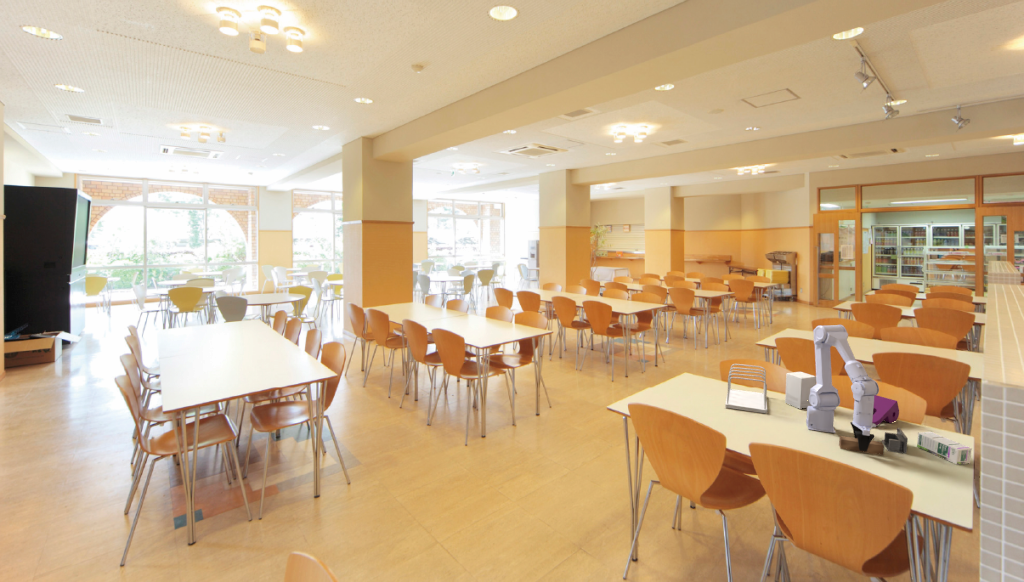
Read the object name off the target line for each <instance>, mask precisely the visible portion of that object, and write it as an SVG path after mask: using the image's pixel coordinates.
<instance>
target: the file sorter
mask: <svg viewBox="0 0 1024 582" xmlns="http://www.w3.org/2000/svg"><path fill="white" fill-rule="evenodd" d="M734 366H742V367H734ZM745 367H746V368H745ZM747 367H751V368H747ZM757 368H761V369H757ZM735 369H737V370H735ZM762 369H763V370H762ZM755 371H756V372H755ZM757 371H758V372H757ZM766 371H767V370H766V368H765V367H763V366H760V365H754V364H753V365H751V364H742V363H741V364H740V363H733V364H732V365H731V366H730V369H729V372H728V377H727V393H726V397H725V398H726V399H725V404H724V405H725V407H724V408H727V409H731V410H732V409H733V410H740V411H747V412H753V413H761V414H766V413H767V414H768V403H767V402H768V401H767V400H768V399H767V393H768V391H767V390H768V384H767V381H766V379H767V377H766V373H767V372H766ZM734 372H735V373H734ZM743 373H748V374H743ZM753 374H754V375H753ZM761 375H762V376H761ZM739 376H741V377H739ZM743 376H744V377H743ZM746 377H754V378H761V379H763V380H761V379H754V378H746ZM732 379H739V380H746V381H753V382H754V381H755V382H761V383H763V392H756V391H750V390H741V389H733V388H731V385H732Z"/></svg>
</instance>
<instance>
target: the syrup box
mask: <svg viewBox="0 0 1024 582" xmlns="http://www.w3.org/2000/svg"><path fill="white" fill-rule="evenodd" d="M916 447H917V448H919V449H921V450H924V451H926V452H927V453H930V454H932V453H933V454H932V455H934V454H935V456H936V457H939V456H940V457H939V458H941V457H942V458H941V459H943V458H944V460H945V459H946V461H948V462H950V463H952V462H953V464H954V463H955V464H954V465H966V464H965V463H969V464H971V459H972V458H971V457H972V451H973V450H972V449H973V448H972V447H970V446H967V445H965V444H962V443H960V442H957V441H955V440H953V439H950V438H948V437H946V436H943V435H940V434H937V433H935V432H934V431H922V432H921V431H920V432H918V433H917V443H916ZM963 463H964V464H963Z"/></svg>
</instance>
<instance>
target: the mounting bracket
mask: <svg viewBox="0 0 1024 582" xmlns="http://www.w3.org/2000/svg"><path fill="white" fill-rule="evenodd" d="M898 403H899V402H898V400H895V399H892V398H888V397H883V396H880V395H878V394H877V395H874V406H873V419H872V423H873V424H875V425H876V427H877V426H879V425H880V424H881V423H882V422H885V421H886V423H888V422H889V424H893V423H892V422H894V421H896V420H898V419H899V415H900V408H899V404H898ZM896 422H897V421H896ZM894 423H895V422H894Z"/></svg>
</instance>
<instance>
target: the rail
mask: <svg viewBox="0 0 1024 582" xmlns="http://www.w3.org/2000/svg"><path fill="white" fill-rule="evenodd" d="M838 439H839V440H838V441H839V442H838V446H839V449H840V450H846V451H851V452H852V451H853V452H857V453H858V452H859V453H866V454H872V455H876V456H877V455H878V456H884V451H885V450H884V449H885V445H884V444H883V442H882V441H878V440H877V441H876V440H872V441H871V442H870V444H869V447H868V449H867V451H860V450H859V445H858V438H854V437H851V436H850V437H849V436H843V435H839V438H838Z"/></svg>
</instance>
